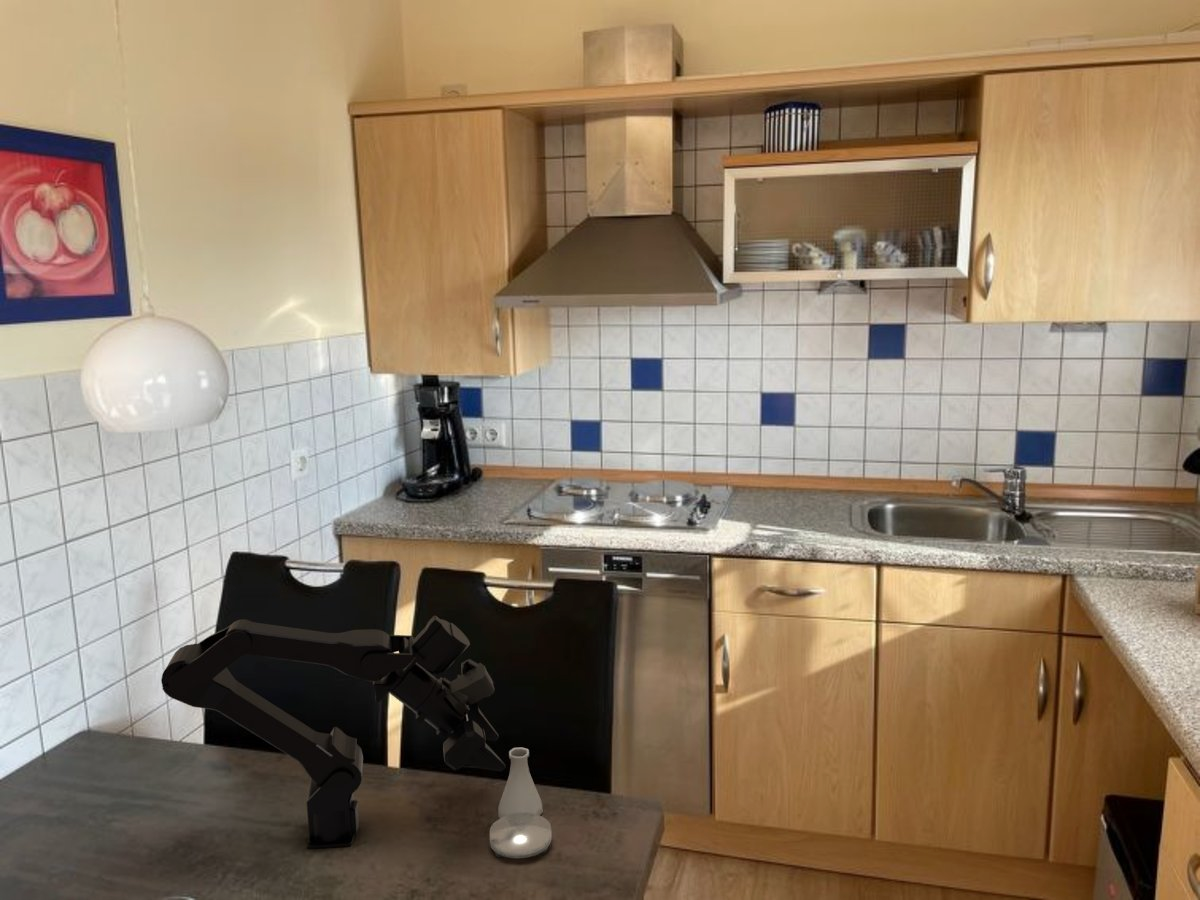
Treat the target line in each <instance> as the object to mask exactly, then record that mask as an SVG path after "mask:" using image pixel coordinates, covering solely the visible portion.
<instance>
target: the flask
mask: <svg viewBox="0 0 1200 900" xmlns="http://www.w3.org/2000/svg"><path fill="white" fill-rule="evenodd" d="M508 757H509V759H510V767H509V768H510V769H509V774H508V778H507V782H506V784H505V787H504V789H503V793H502V795H501V799H500V801H499V805H498V807H497V809H498V811H497V812H498V813H497V814H498V819H500V818H501V817H504V816H506V815H509V814H514V813H533V814H537V815H540V816H541V814H543V813H544V811H543V808H544V807H543V801H542V799H541V797H540V794H539V792H538V790H537V787H536V785H535V783H534V781H533V778H532V776H531V773H530V768H529V765H528V763H529V762H528V758H529V757H530V750H529V749H528V748H525V747H513V748H511V749H510V750H509V751H508Z"/></svg>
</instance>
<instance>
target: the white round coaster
mask: <svg viewBox="0 0 1200 900" xmlns="http://www.w3.org/2000/svg"><path fill="white" fill-rule="evenodd" d="M552 838H553V837H552V825H551V823H550V821H549V820H548V819H546V818H545V817H544V816H541V814H540V815H537V814H533V813H514V814H509V815H506V816H504V817H501V818H498V819H497V820H495V821H494V822H493V823H492V824H491V826H490V828H489V846H490V848H491V849H492V850H493V852H494V856H495V857H496V858H498V859H501V858H502V859H505V858H508V859H509V858H510V859H525V858H526V859H527V858H531V857H534V856H543V855H546V854H547V852H548V848H549V846H550V844H551V843H552Z"/></svg>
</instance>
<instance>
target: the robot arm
mask: <svg viewBox="0 0 1200 900" xmlns="http://www.w3.org/2000/svg"><path fill="white" fill-rule="evenodd" d="M470 645H471V642H470V641H469V638H468V637H467V636H466V634H464V632H463V631H462V630H461V629H460V628H459V627H457V626H456V624H454V623H452V622H449V621H447V620H445V619H442V618H441V619H440V618H439V617H438V616H437V615H433V616H432V617H431V618H430V619H429V620H428V621H427V624H426V625H425V627H424V628H423V629H422V630H421V631H419V633H418V634H417V635H416V637H414V636H413V635H409V634H408V635H404V634H403V635H402V634H388V633H387V632H386V631H384V630H381V629H373V628H372V629H353V630H352V629H351V630H347V631H344V632H326V631H320V630H319V631H318V630H310V629H303V628H297V627H289V626H284V625H282V626H281V625H275V624H269V623H268V624H267V623H262V622H261V623H260V622H254V621H251V620H249V619H243V618H242V619H238V620H235V621H234V622H233V623H230V625H229V626H227V627H226V628H223V629H220V630H219V631H217V632H215V633H213V634H210V635H209V636H207V637H205V638H204V639H202V640H201V641H198V643H193V644H186V645H183V646H181V647H180V648H178V649H177V650H176V651H175V652H174V653H173V656H172V657H171V659H170V661H169V663H168V664H167V665H166V667H165V669H164V671H163V672H162V674H161V679H160V680H161V681H160V682H161V688H162V691H163V692H164V693H165V695H166V696H168V697H169V698H170V699H172V700H173V699H174V700H175V701H178V702H180V703H183V704H185V705H187V706H190V707H192V708H198V709H207V710H213V711H216V712H218V713H219V714H221V715H223V716H225V717H226V718H228V719H229V720H231V721H233V722H234V723H236V724H237V725H239V726H241V727H242V728H244V729H246V730H247V731H249V732H250V733H252V734H253V735H255V736H256V737H258V738H260V739H262V740H263V741H265V742H267V743H268V744H270V745H271V746H273V747H274V748H276V749H277V750H279V751H281V752H282V753H284V754H285V755H287V756H289V757H290V758H291V759H294V760H295V761H297V762H298V763H299V765H301V766H302V768H303V770H304V771H305V773H306V774H307V775H308V776H309V778H310V781H309V786H308V787H309V788H308V793H307V798H306V812H307V825H308V827H307V828H308V838H307V841H306V848H307V849H318V848H322V849H323V848H336V847H350V846H351V845H352V844H353V841H354V838H355V836H356V835H357V834H358V829H359V826H360V816H359V800H357V799H355V796H354V793H355V792H356V791H357V790H358V789H359V787H360V785H361V784H362V779H363V764H364V755H363V750H362V748H361V746H359V745H358V744H357V743H358V742H357V741H358V740H357V738H356V737H351V736H349V735H347V734H345V733H344V731H343V730H341V728H339V727H338V726H334V727H333V729H332V730H331V732H330V733H325V732H319V731H316V730H314V729H312V728H311V727H309V725H307V724H305V723H303V722H301V721H300V720H299V719H297V718H295V717H294V716H292V715H291V714H289V713H287V712H286V711H284V710H283V709H282V708H279V707H278V706H276V705H275V704H273V703H272V702H270V701H268V699H266V698H264V697H262V696H261V695H259V694H257V692H255V691H253V690H251V689H250V688H248V687H247V686H245V685H244V684H242V683H240V682H239V681H238V680H236V678H235V677H234V676H233V674H232V672H230V670H229V668H227V667H229V666H230V665H231V664H233V662H235V661H237V660H238V659H239V658H241V657H242V656H254V657H260V658H268V659H275V660H282V661H283V660H284V661H291V662H299V663H304V664H305V663H306V664H314V665H321V666H322V665H323V666H327V667H330V668H333V669H335V670H337V671H338V672H340V673H342V674H344V675H346V676H348V677H352V678H356V679H359V680H361V681H366V682H371V683H372V686H373V688H374V693H375V697H374V698H375V699H374V700H375V703H378V704H379V703H381V701H382V700H383V699H384V698H385V697H386V696H387V695H388V693H389V695H391V696H393V697H394V698H395V699H396V700H397V701H399V702H401V703H402V704H403V705H404V706H405V707H407V708H408V709H410V710H411V711H412V712H413V713H414V714H415V720H416V721H417V722H419V723H420V724H421V723H423V722H424V721H425V722H427V724H429V725H430V726H431V727H433V728H434V729H435V730H436V736H437V737H439V738H440V739H441V740H443V739H444V737H446V735H448V734H449V737H447V739H446V740H445V741H444V742H443V743H442V746H443V747H442V750H443V760H444V764H446V766H448V767H449V768H450V769H452V770H453V771H456V770H458V769H462V768H471V769H481V770H488V771H496V772H502V771H503V770H505V769H506V764H505V763H504V761H502V759H501V758H500V757H499V756H498V755H497V753H495V752H494V750H493V749H492V748H491V747H490V746H489V745H488V744H487V743H486V740H487V741H490V742H497V741H498V739H500V736H499V734H498V732H497V731H496V730H495V728H494V727H493V725H491V723H490V722H489V721H488V719H487V718H486V716H485V715H484V714H483V712H482V711H481V710H480V708H479V701H481V700H482V699H484V698H488V697H490V696H492V694H494V693H495V686H494V681H493V679H492V677H491V675H490V674H489V672H488V671H487V667H486V666H485V664H482V663H481V662H479V663H477V662H476V661H474V660H472V659H470V658H468V659H466V660H464V661H463V662H461V667H460V668H461V674H460V673H459V674H457V678H455V679H453V680H451V681H450V680H449V679H447V678H446V677H441V676H440V678H436V677H435V676H434V675H432V674H435V675H436V676H438V675H439V674H440V673H441V674H444V673H446V671H447V670H448V669H449V668H450V667H451V666H452V665H453V664H454V663H455V661H456V660H457V659H458V658H460V657H461V655H462V654H463V653H464V652H465V651H466V649H467V648H468V647H469V646H470ZM450 734H451V735H450Z"/></svg>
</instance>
